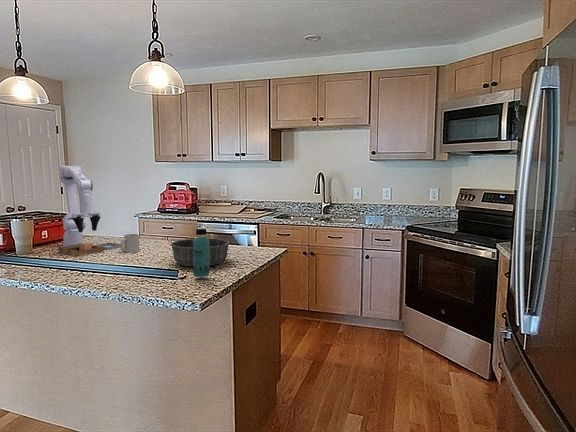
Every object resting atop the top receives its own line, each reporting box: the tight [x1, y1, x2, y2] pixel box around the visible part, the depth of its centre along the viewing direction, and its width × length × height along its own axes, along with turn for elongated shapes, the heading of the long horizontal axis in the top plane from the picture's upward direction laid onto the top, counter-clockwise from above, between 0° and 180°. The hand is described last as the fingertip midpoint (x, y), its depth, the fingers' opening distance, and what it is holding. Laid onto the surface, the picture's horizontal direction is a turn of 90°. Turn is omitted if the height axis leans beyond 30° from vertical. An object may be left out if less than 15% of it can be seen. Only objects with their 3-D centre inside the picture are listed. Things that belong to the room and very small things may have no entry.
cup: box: [119, 233, 140, 254], centre depth 207 cm, size 7×10×9 cm
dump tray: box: [94, 242, 121, 251], centre depth 217 cm, size 11×10×2 cm
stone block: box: [79, 241, 93, 251], centre depth 202 cm, size 4×4×5 cm
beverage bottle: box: [192, 228, 211, 278], centre depth 159 cm, size 6×7×20 cm
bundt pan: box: [170, 237, 230, 267], centre depth 186 cm, size 26×26×10 cm
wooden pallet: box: [58, 244, 105, 258], centre depth 203 cm, size 15×14×4 cm
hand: (87, 231), depth 201 cm, fingers open, 7 cm apart
